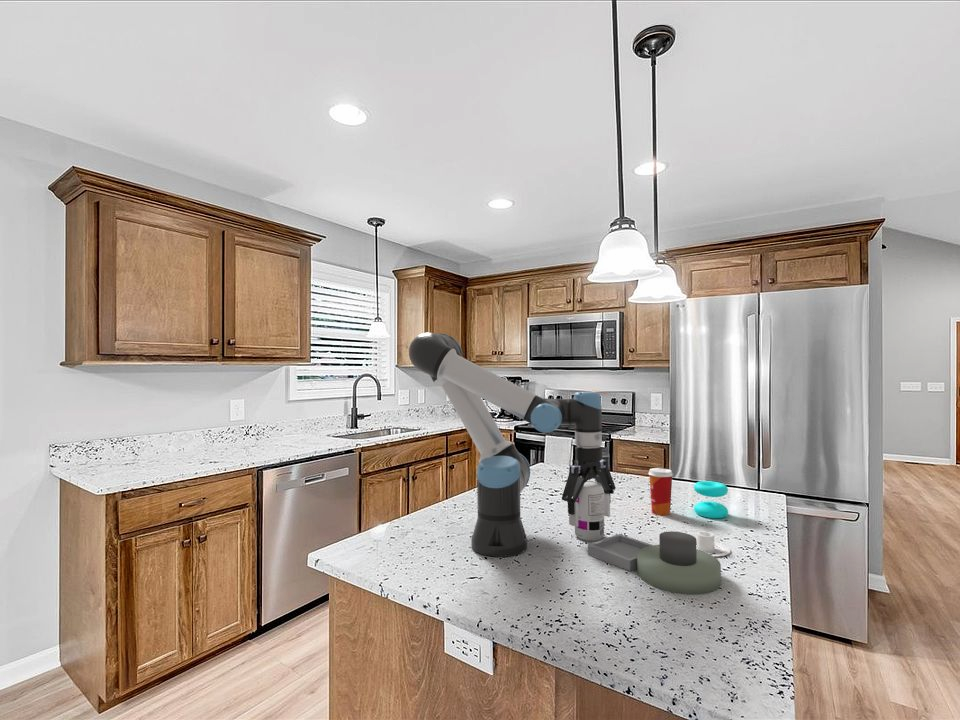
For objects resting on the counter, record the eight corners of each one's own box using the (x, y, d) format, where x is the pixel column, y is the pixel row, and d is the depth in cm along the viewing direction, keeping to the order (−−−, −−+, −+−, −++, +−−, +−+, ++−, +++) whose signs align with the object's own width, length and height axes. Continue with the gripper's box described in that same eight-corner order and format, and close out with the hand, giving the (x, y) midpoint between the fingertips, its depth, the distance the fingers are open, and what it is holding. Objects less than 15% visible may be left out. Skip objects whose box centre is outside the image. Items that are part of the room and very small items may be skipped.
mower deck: (693, 602, 103) (693, 559, 103) (581, 556, 128) (580, 521, 128) (736, 579, 114) (735, 539, 114) (625, 540, 139) (624, 508, 139)
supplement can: (573, 540, 140) (572, 486, 140) (576, 530, 147) (576, 479, 147) (603, 543, 137) (602, 488, 137) (604, 532, 145) (604, 481, 145)
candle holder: (691, 559, 127) (691, 542, 127) (673, 542, 139) (673, 526, 139) (739, 559, 126) (739, 542, 126) (717, 541, 138) (717, 526, 138)
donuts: (732, 483, 161) (720, 489, 154) (733, 514, 161) (721, 521, 154) (701, 478, 168) (688, 483, 161) (701, 508, 168) (688, 514, 161)
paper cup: (653, 508, 169) (653, 466, 169) (676, 512, 164) (676, 469, 164) (644, 513, 163) (644, 470, 163) (668, 518, 158) (668, 474, 158)
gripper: (568, 453, 132) (569, 533, 132) (626, 442, 147) (628, 514, 147) (547, 449, 138) (549, 526, 138) (606, 439, 153) (607, 508, 153)
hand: (590, 520), depth 142 cm, fingers open, 13 cm apart
